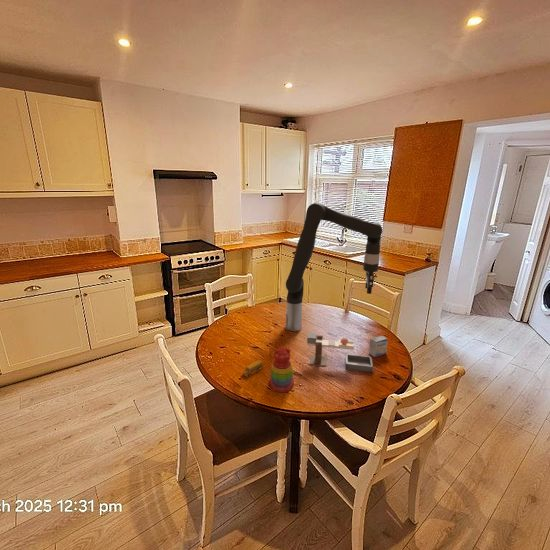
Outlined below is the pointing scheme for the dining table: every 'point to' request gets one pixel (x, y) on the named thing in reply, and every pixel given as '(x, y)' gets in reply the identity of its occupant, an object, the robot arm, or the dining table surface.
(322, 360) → the fulcrum
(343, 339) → the ball
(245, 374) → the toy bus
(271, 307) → the dining table surface
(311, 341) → the tilt lever
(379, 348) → the medicine box
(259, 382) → the dining table surface
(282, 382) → the stacking bear
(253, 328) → the dining table surface
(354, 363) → the tray
